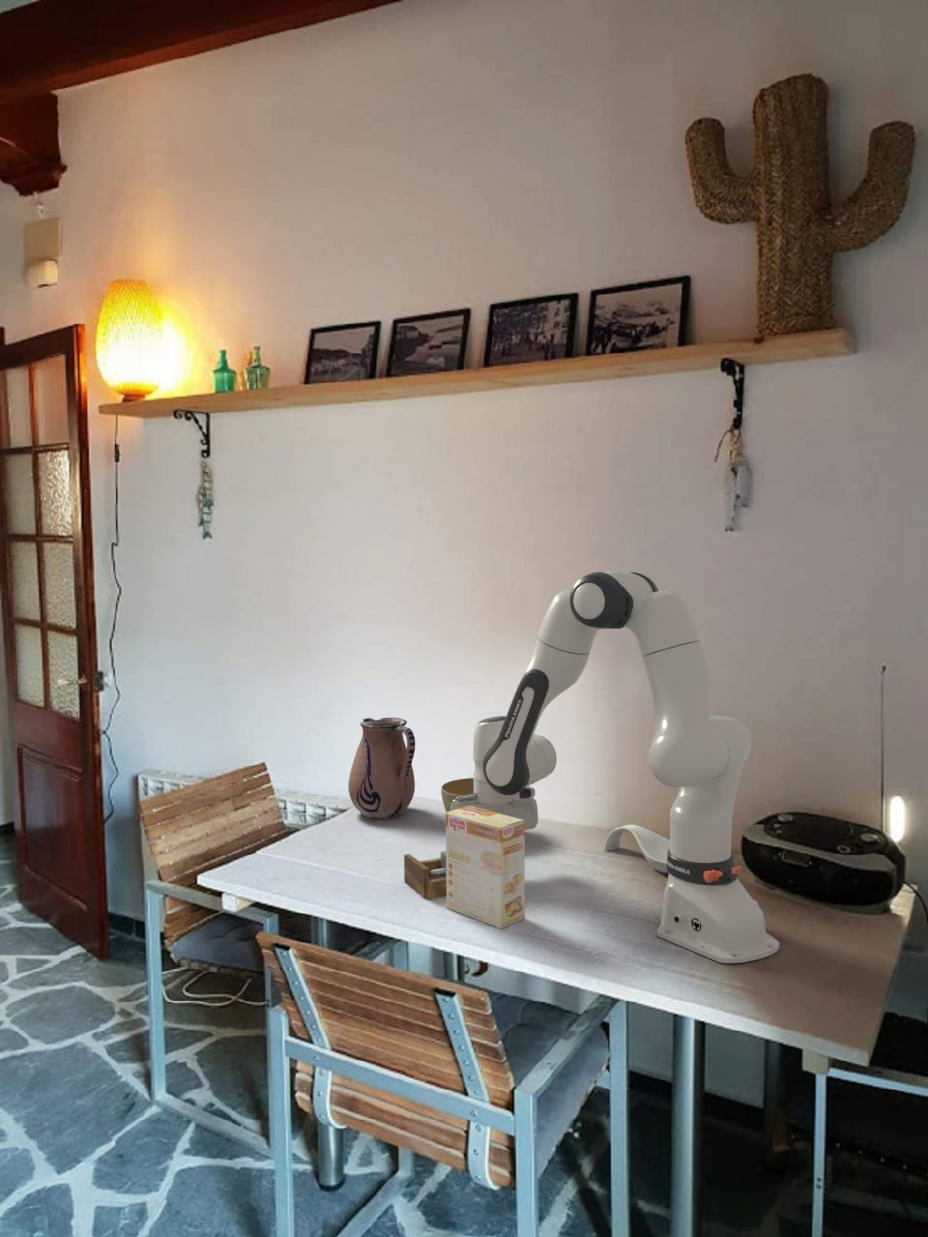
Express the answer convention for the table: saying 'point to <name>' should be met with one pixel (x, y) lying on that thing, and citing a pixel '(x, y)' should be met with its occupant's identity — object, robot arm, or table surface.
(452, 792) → the flower pot
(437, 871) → the pusher
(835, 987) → the table surface
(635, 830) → the spoon rest
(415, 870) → the brown wooden frame
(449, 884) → the coffeecake box
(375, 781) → the ceramic pitcher
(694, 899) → the robot arm
